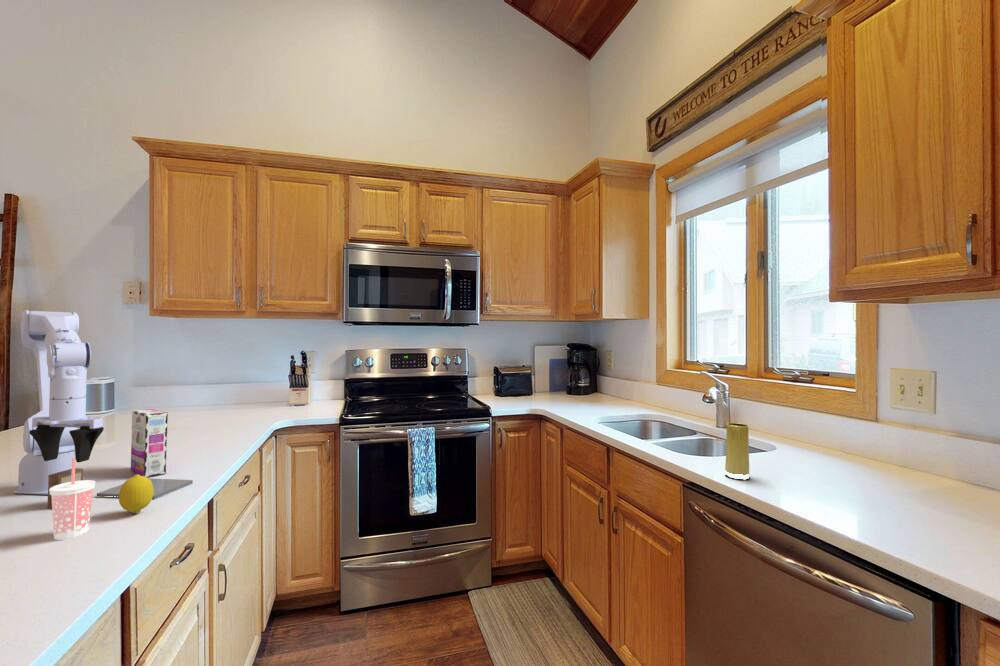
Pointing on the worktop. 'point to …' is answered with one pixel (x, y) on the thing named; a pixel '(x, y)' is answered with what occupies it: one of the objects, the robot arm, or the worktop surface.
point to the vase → (737, 449)
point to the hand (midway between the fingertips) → (66, 460)
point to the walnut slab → (62, 480)
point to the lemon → (136, 493)
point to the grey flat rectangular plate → (159, 487)
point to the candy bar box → (149, 442)
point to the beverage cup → (71, 507)
